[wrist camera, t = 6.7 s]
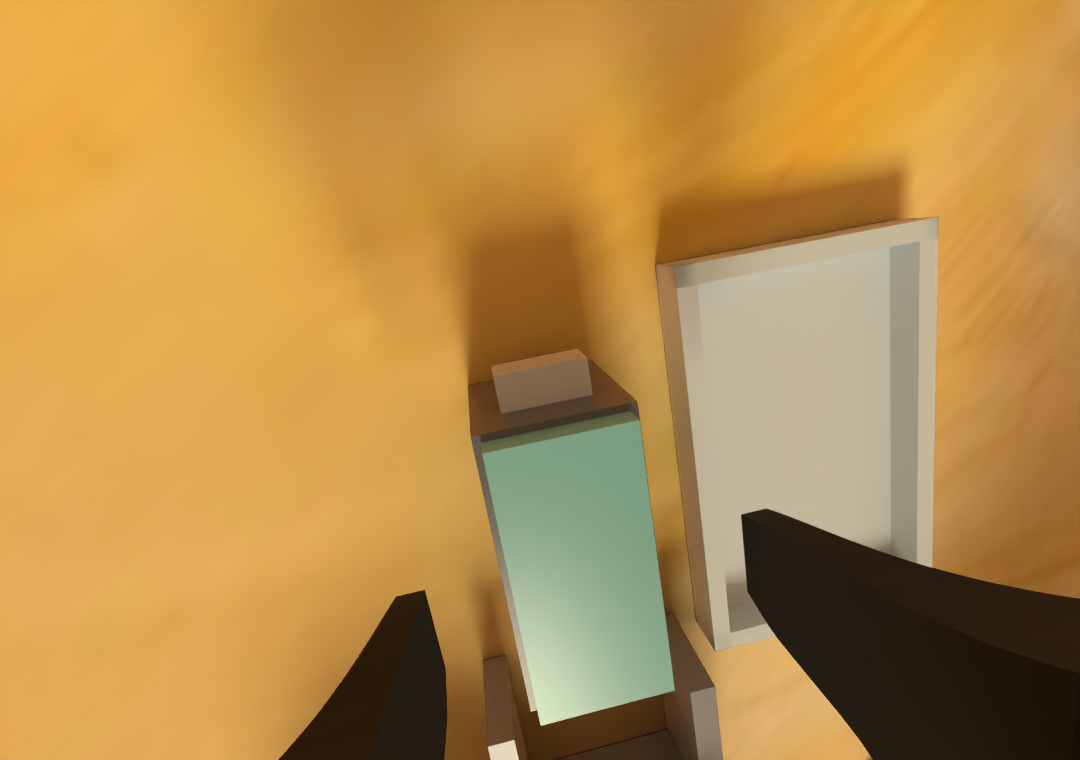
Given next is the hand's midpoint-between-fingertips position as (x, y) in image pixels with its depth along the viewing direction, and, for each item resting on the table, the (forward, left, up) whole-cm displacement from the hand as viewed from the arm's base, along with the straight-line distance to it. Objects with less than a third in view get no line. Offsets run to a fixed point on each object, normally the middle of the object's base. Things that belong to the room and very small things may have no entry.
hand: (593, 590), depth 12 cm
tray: (-9, +1, -6) cm, 11 cm away
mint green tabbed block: (0, +1, -7) cm, 7 cm away
